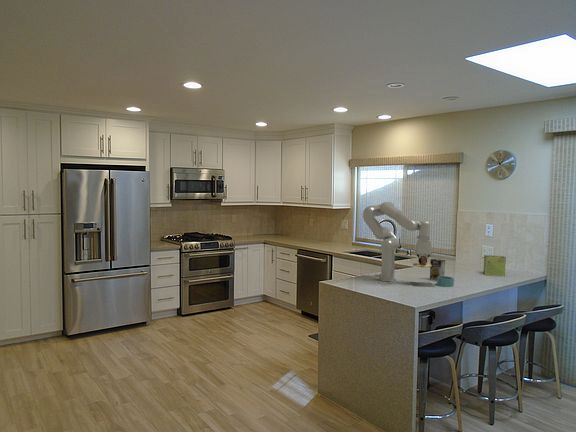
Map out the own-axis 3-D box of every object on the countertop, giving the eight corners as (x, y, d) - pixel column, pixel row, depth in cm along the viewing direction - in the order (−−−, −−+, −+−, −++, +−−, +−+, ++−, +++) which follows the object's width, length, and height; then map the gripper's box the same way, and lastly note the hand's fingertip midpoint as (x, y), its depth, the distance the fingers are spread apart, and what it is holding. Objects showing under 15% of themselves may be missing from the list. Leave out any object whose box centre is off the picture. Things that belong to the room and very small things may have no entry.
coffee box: (429, 280, 334) (430, 259, 333) (433, 279, 338) (434, 258, 337) (440, 282, 327) (440, 260, 326) (444, 281, 331) (445, 260, 330)
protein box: (505, 276, 353) (506, 257, 352) (484, 275, 358) (485, 256, 357) (503, 274, 362) (504, 256, 362) (483, 273, 367) (484, 254, 367)
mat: (414, 287, 308) (414, 286, 308) (409, 282, 323) (409, 281, 323) (435, 287, 307) (435, 287, 307) (430, 283, 322) (430, 282, 322)
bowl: (439, 287, 309) (439, 278, 308) (435, 284, 320) (435, 275, 319) (455, 287, 308) (455, 279, 307) (450, 284, 319) (451, 276, 318)
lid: (415, 266, 309) (415, 257, 308) (411, 263, 322) (412, 254, 321) (433, 267, 308) (434, 258, 307) (429, 264, 320) (430, 255, 320)
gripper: (413, 238, 310) (412, 263, 311) (436, 239, 309) (435, 265, 310) (411, 237, 318) (410, 262, 319) (434, 238, 316) (432, 263, 318)
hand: (422, 263), depth 314 cm, fingers closed on lid, 3 cm apart
